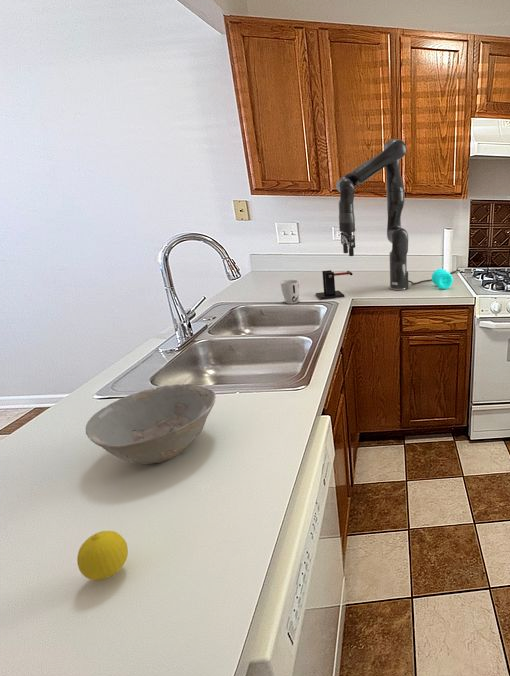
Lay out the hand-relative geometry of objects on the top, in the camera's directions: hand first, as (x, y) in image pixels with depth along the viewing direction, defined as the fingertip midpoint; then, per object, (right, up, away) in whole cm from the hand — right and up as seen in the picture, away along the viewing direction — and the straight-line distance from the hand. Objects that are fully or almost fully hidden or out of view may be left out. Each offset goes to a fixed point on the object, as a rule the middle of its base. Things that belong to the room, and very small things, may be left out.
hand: (348, 254), depth 200 cm
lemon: (-1, -75, -140) cm, 159 cm away
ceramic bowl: (-12, -64, -112) cm, 130 cm away
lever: (-5, -11, +1) cm, 12 cm away
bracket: (-10, -21, +2) cm, 23 cm away
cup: (-25, -25, -9) cm, 36 cm away
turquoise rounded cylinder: (+47, -14, +25) cm, 55 cm away
